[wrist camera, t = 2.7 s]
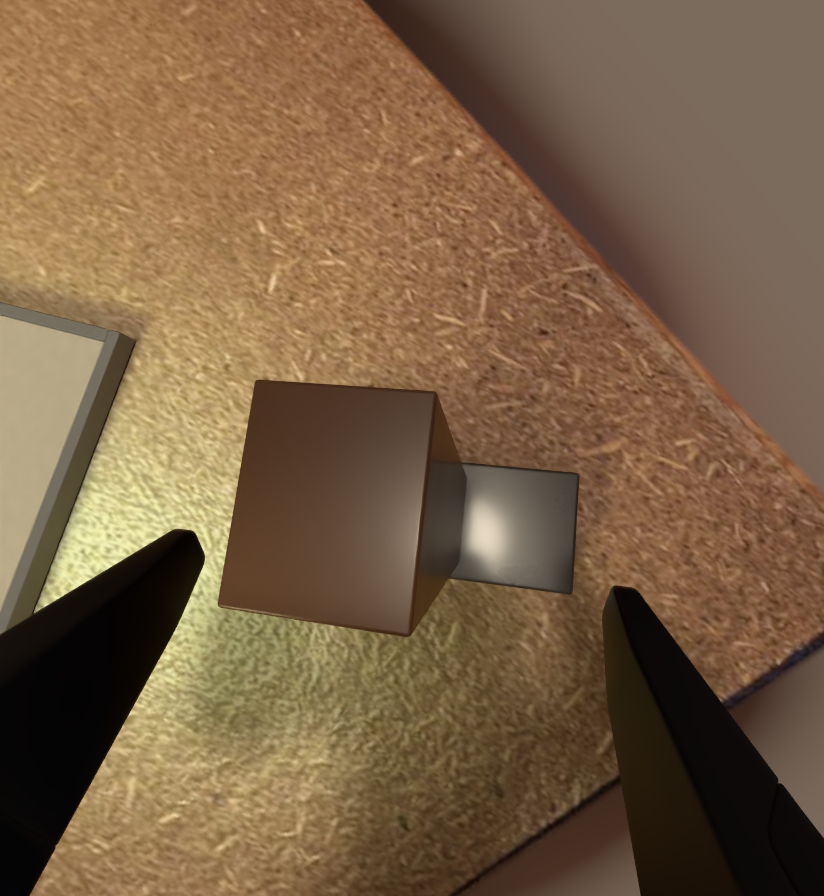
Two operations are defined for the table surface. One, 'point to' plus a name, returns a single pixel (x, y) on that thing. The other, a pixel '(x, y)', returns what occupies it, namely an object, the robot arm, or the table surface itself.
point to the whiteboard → (46, 437)
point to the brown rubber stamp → (381, 511)
